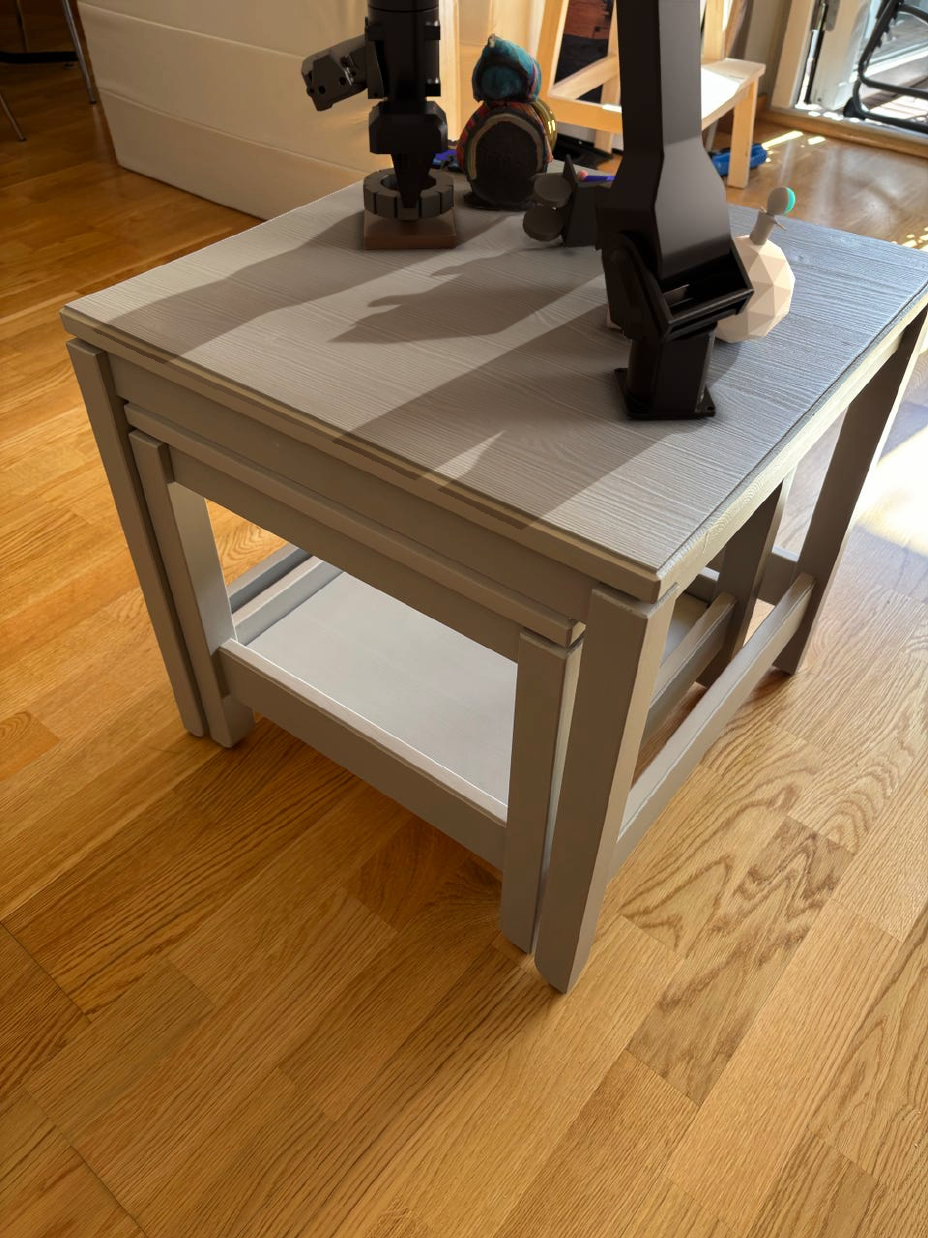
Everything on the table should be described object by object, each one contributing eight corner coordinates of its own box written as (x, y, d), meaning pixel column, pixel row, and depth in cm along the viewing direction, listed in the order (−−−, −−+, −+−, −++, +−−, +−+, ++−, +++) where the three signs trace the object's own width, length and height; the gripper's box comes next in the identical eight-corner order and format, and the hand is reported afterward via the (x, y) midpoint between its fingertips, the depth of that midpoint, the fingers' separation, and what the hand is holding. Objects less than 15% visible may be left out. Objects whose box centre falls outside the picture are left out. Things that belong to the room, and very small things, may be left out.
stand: (456, 247, 90) (456, 178, 85) (364, 249, 89) (360, 180, 85) (451, 211, 96) (451, 145, 91) (365, 213, 95) (361, 146, 91)
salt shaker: (515, 190, 101) (531, 181, 110) (566, 133, 97) (579, 128, 106) (465, 136, 100) (486, 131, 108) (515, 76, 96) (532, 75, 104)
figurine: (555, 190, 100) (568, 24, 90) (544, 216, 95) (556, 44, 85) (462, 181, 102) (464, 17, 91) (446, 206, 97) (446, 36, 86)
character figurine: (515, 234, 93) (663, 225, 95) (532, 260, 87) (689, 250, 89) (518, 146, 88) (675, 139, 90) (537, 168, 82) (703, 160, 84)
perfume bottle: (777, 370, 77) (863, 223, 69) (690, 352, 74) (769, 197, 66) (738, 322, 82) (813, 181, 74) (655, 303, 79) (724, 155, 71)
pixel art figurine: (466, 172, 103) (504, 138, 111) (466, 169, 103) (504, 135, 111) (415, 164, 105) (455, 130, 113) (415, 160, 105) (455, 127, 113)
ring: (454, 220, 88) (454, 197, 86) (362, 220, 88) (360, 197, 86) (452, 187, 94) (452, 166, 93) (366, 187, 94) (365, 166, 92)
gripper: (307, -22, 83) (324, 167, 94) (293, 34, 69) (315, 248, 80) (436, -23, 83) (438, 166, 94) (448, 33, 70) (448, 245, 81)
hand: (409, 203), depth 87 cm, fingers closed on ring, 2 cm apart
